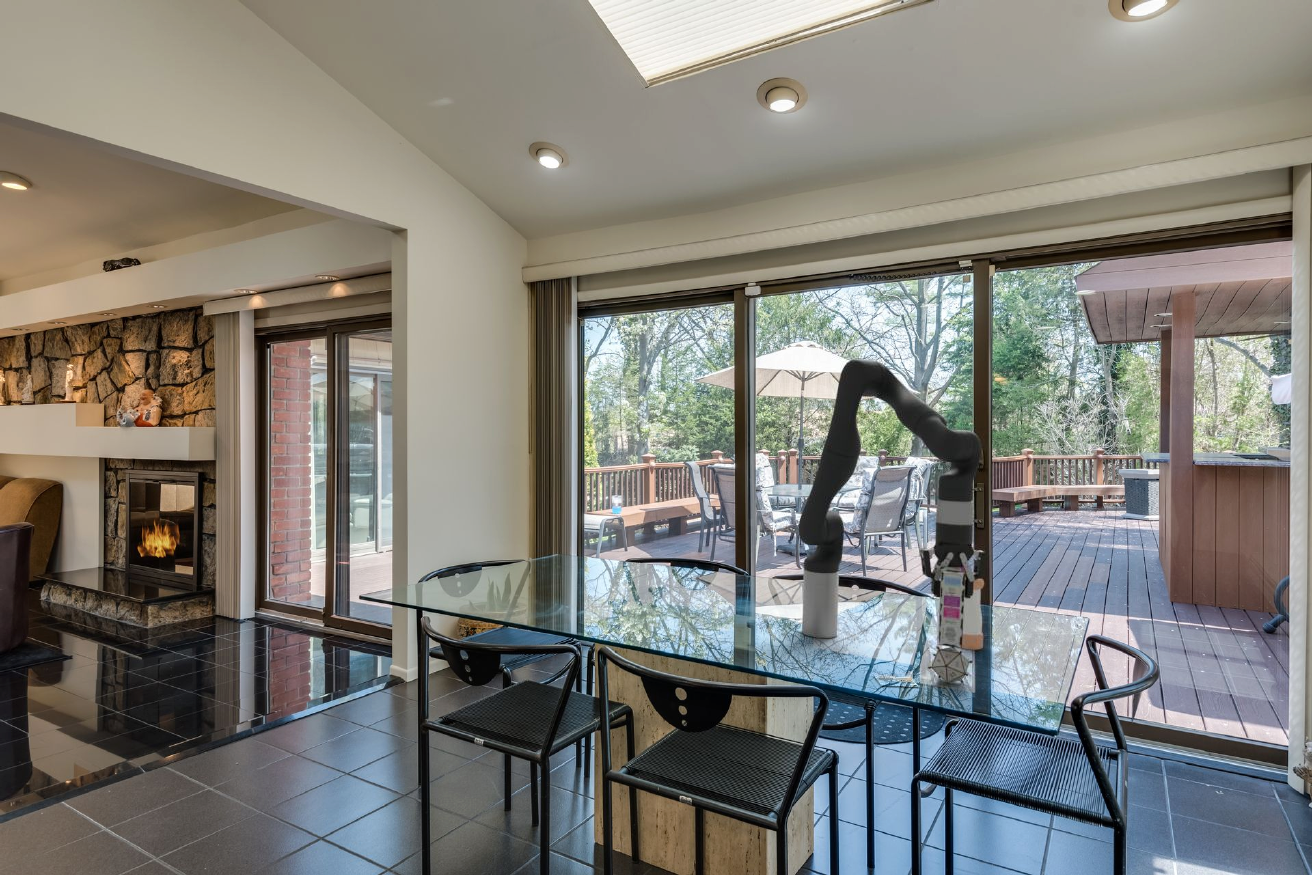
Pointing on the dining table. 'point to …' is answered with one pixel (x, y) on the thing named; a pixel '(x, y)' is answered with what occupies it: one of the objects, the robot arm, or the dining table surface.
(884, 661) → the dining table surface
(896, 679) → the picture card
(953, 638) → the candy bar box
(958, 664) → the game die
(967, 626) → the pepper shaker
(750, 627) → the dining table surface
